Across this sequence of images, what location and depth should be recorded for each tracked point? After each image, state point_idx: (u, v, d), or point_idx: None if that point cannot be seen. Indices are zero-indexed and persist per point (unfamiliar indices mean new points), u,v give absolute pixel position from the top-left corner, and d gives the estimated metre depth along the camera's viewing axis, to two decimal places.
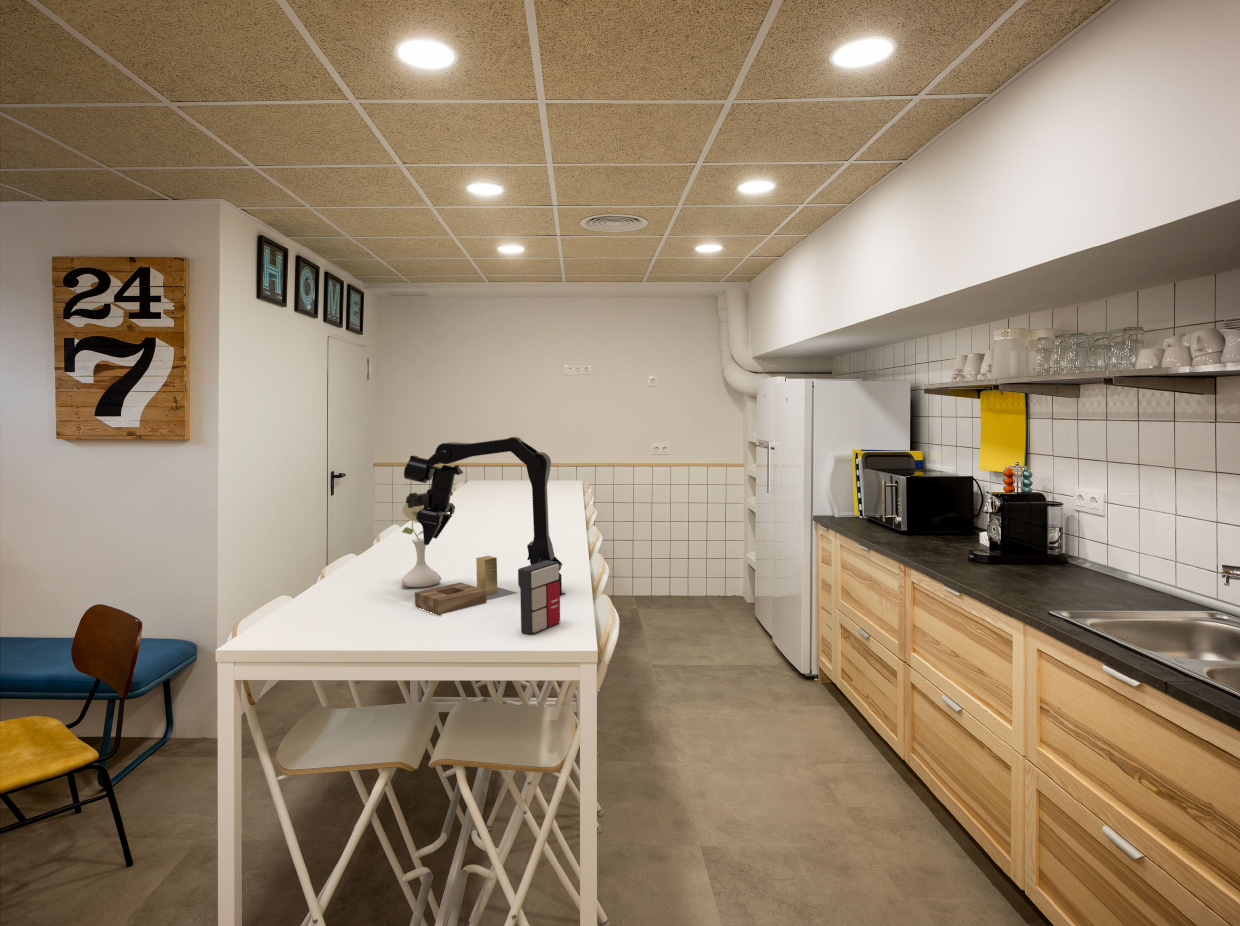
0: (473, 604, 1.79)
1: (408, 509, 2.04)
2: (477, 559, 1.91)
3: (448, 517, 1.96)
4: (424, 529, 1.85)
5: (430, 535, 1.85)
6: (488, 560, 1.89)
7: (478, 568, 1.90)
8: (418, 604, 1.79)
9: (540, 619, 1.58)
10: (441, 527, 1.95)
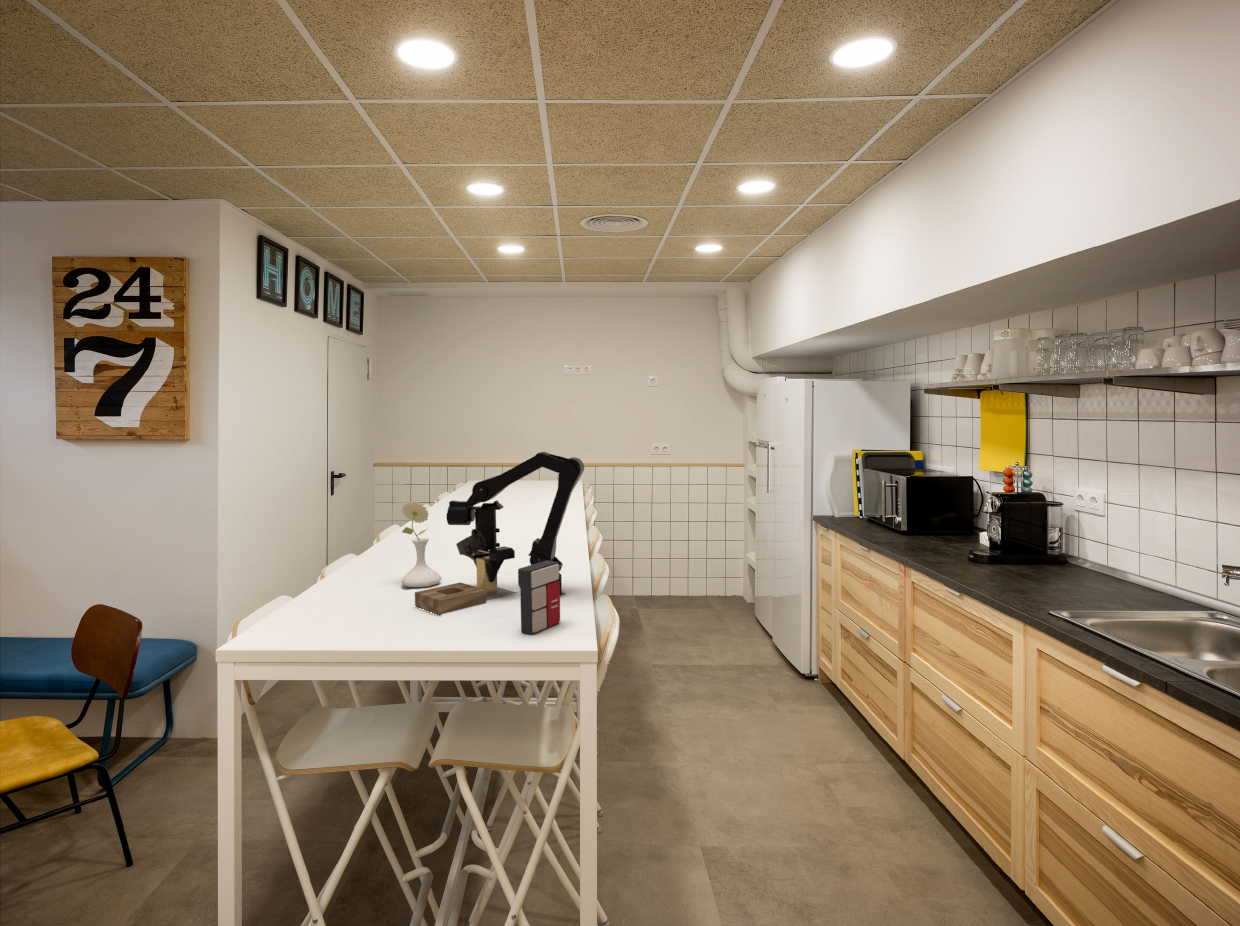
0: (473, 604, 1.79)
1: (408, 509, 2.04)
2: (477, 559, 1.91)
3: (488, 554, 1.95)
4: (491, 567, 1.88)
5: (496, 571, 1.90)
6: None
7: (478, 568, 1.90)
8: (418, 604, 1.79)
9: (540, 619, 1.58)
10: None
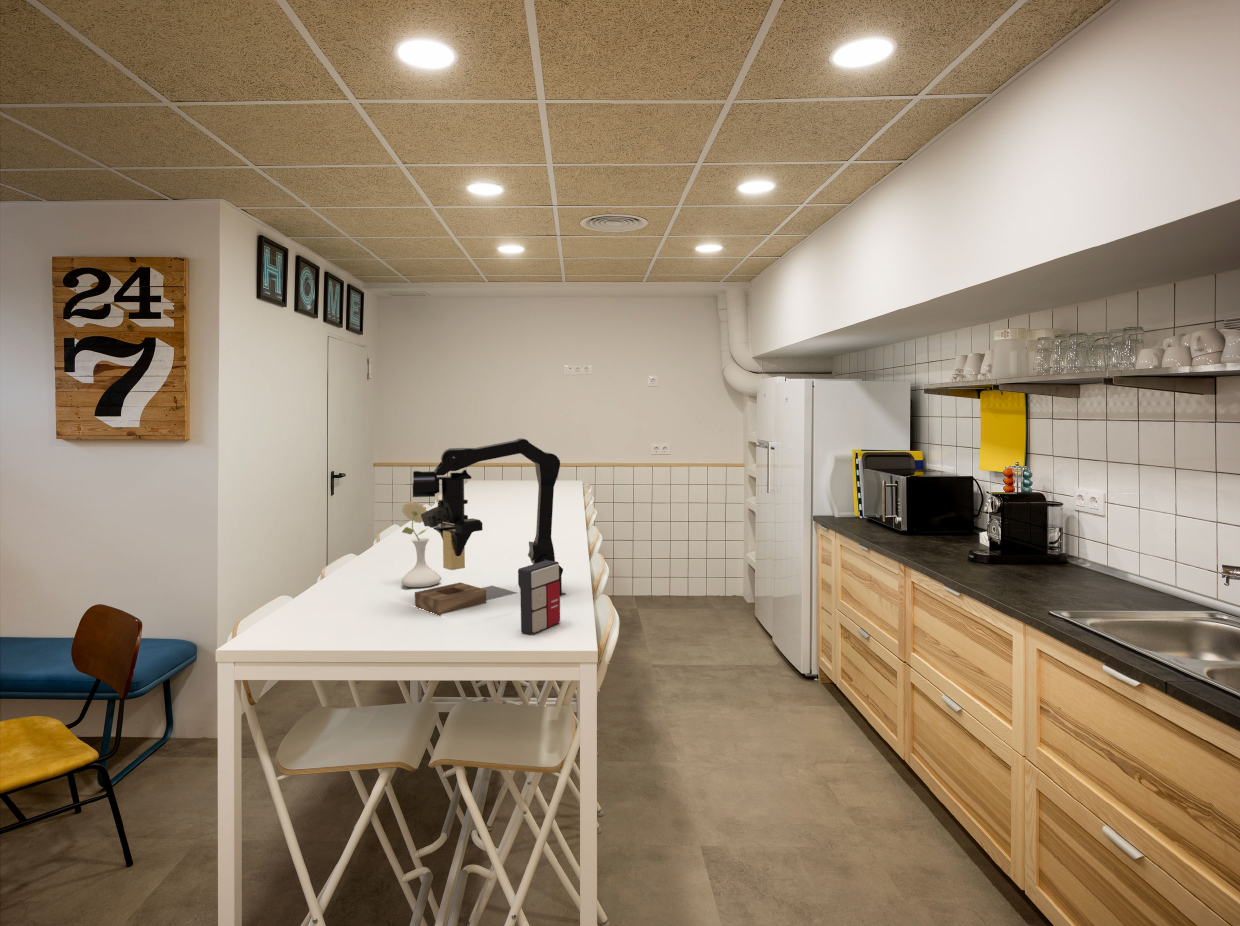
0: (473, 604, 1.79)
1: (408, 509, 2.04)
2: (444, 532, 1.81)
3: None
4: (458, 540, 1.78)
5: (463, 544, 1.80)
6: None
7: (444, 541, 1.81)
8: (418, 604, 1.79)
9: (540, 619, 1.58)
10: None
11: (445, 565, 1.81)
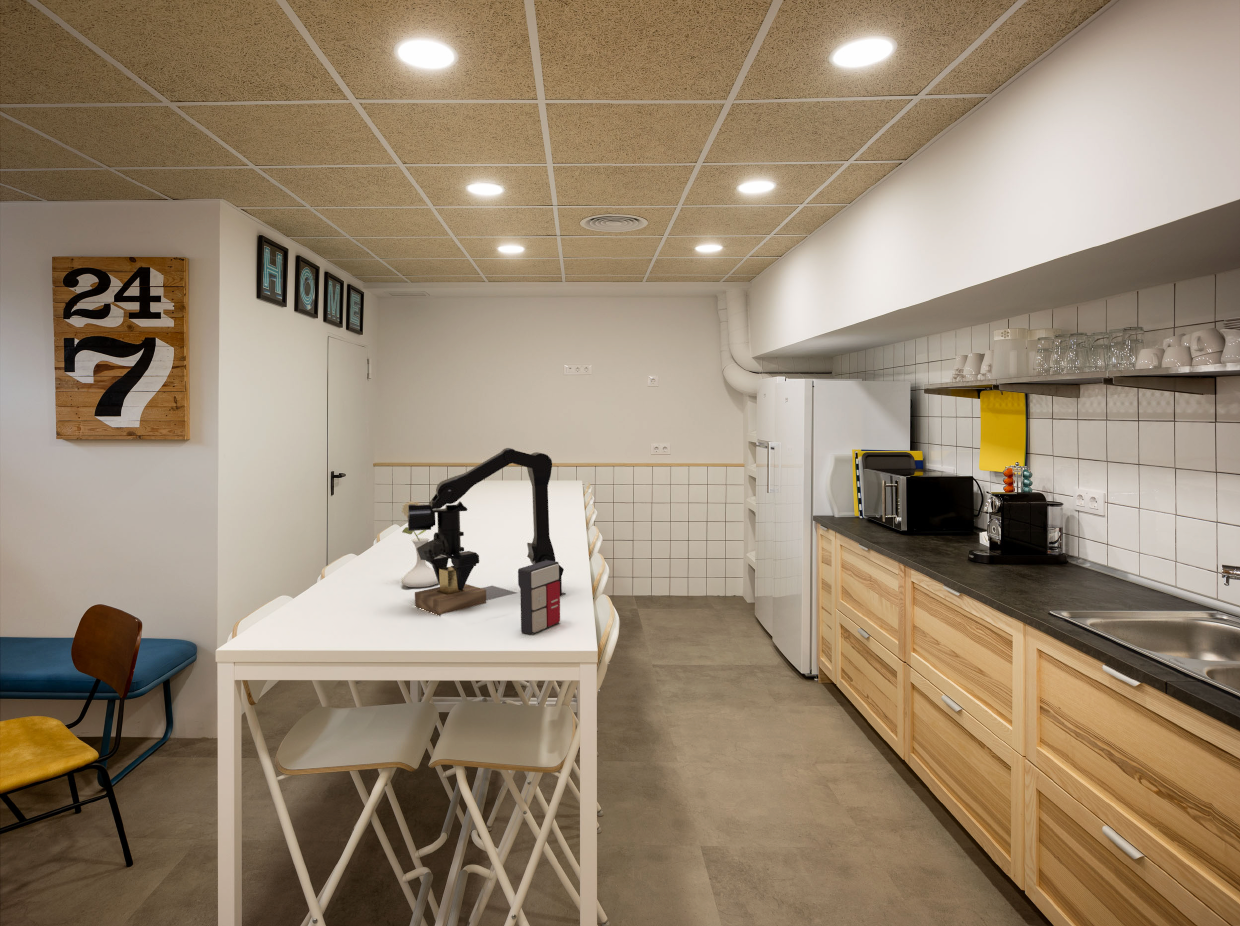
0: (473, 604, 1.79)
1: None
2: (440, 570, 1.80)
3: (447, 558, 1.85)
4: (460, 575, 1.76)
5: (465, 578, 1.77)
6: (451, 571, 1.78)
7: (441, 580, 1.80)
8: (418, 604, 1.79)
9: (540, 619, 1.58)
10: None
11: None
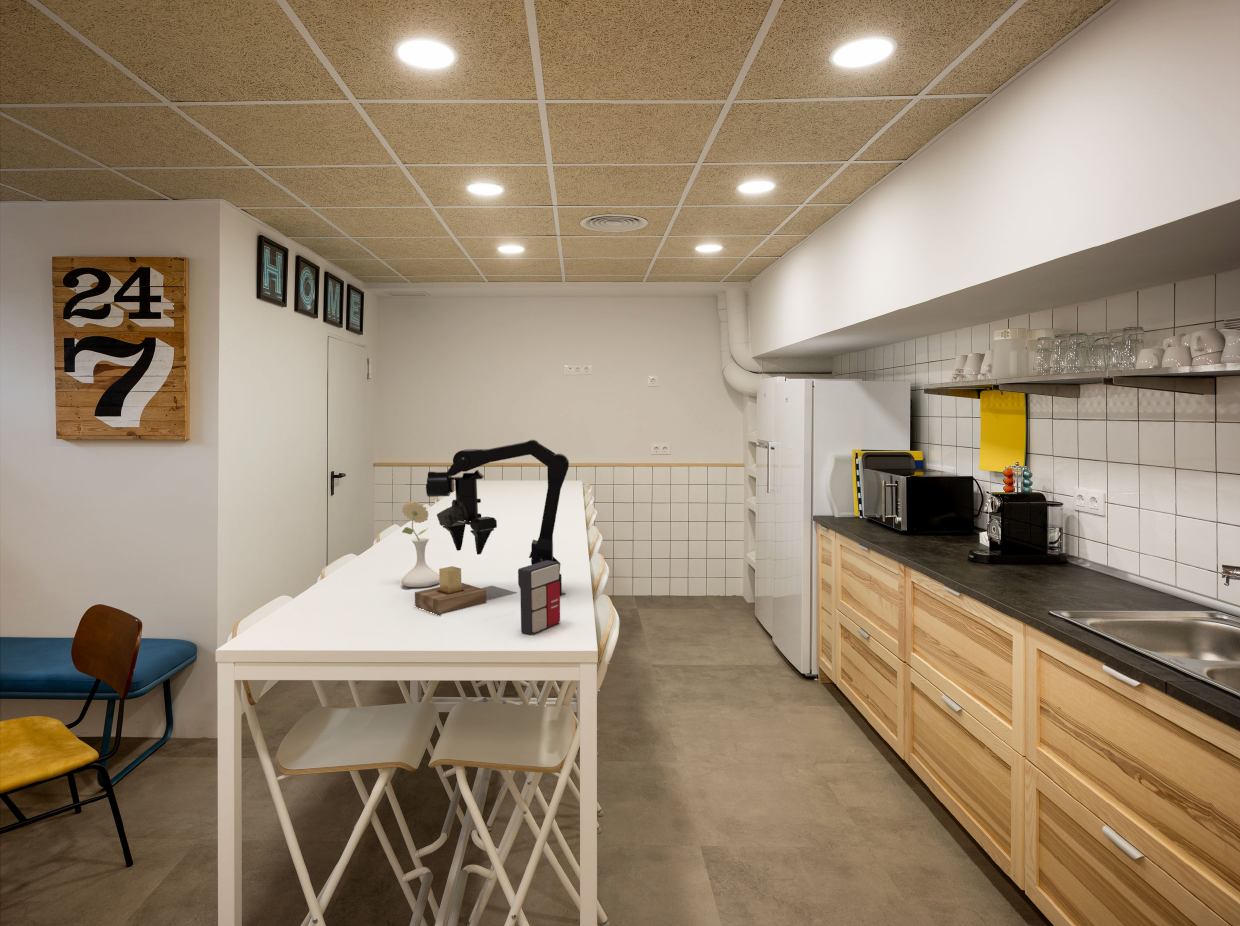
0: (473, 604, 1.79)
1: (408, 509, 2.03)
2: (440, 570, 1.80)
3: (464, 525, 1.93)
4: (479, 539, 1.83)
5: (483, 543, 1.84)
6: (451, 571, 1.78)
7: (441, 580, 1.80)
8: (418, 604, 1.79)
9: (540, 619, 1.58)
10: (461, 537, 1.92)
11: None
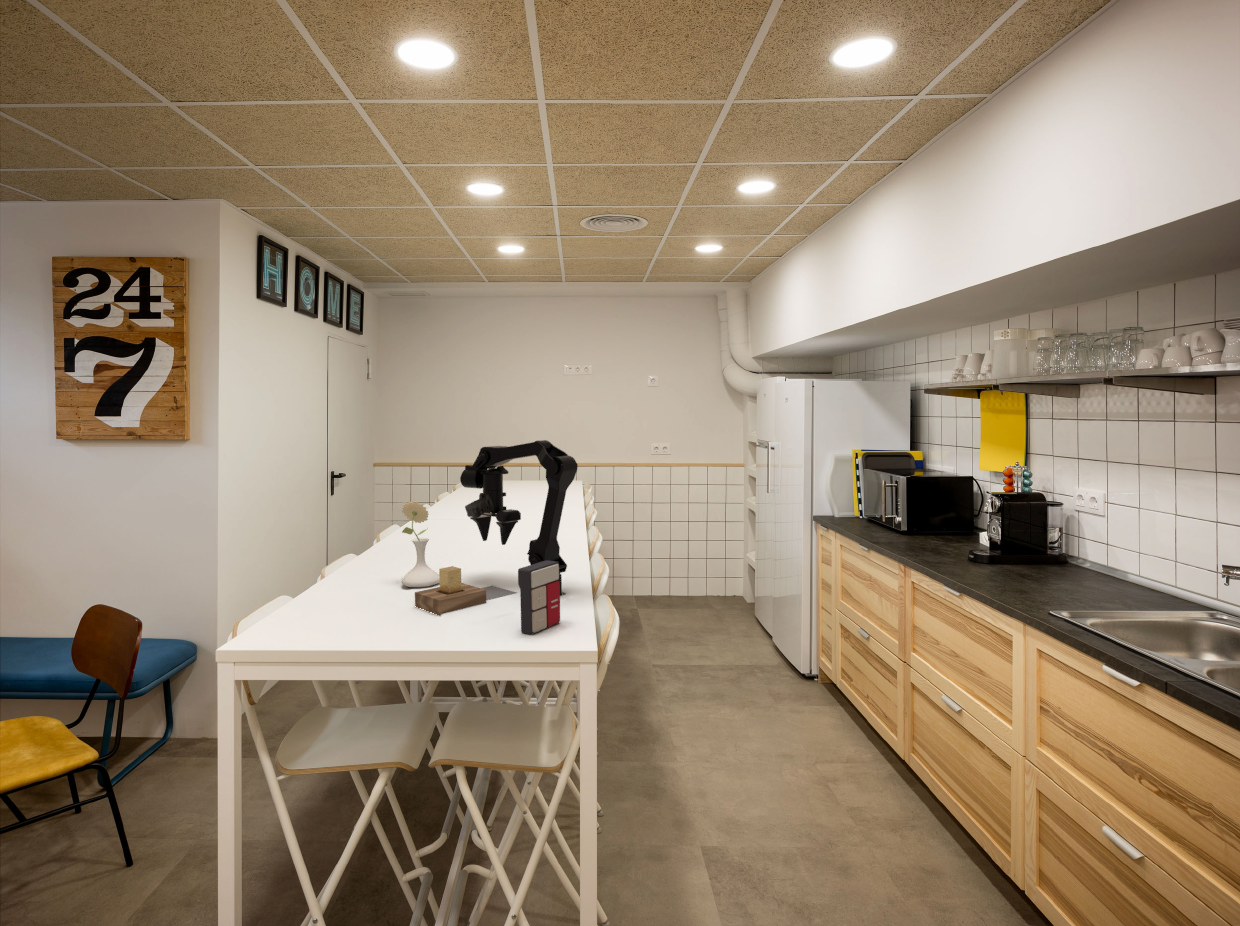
0: (473, 604, 1.79)
1: (408, 509, 2.04)
2: (440, 570, 1.80)
3: (490, 517, 2.05)
4: (504, 530, 1.95)
5: (508, 534, 1.96)
6: (451, 571, 1.78)
7: (441, 580, 1.80)
8: (418, 604, 1.79)
9: (540, 619, 1.58)
10: (487, 528, 2.04)
11: None
